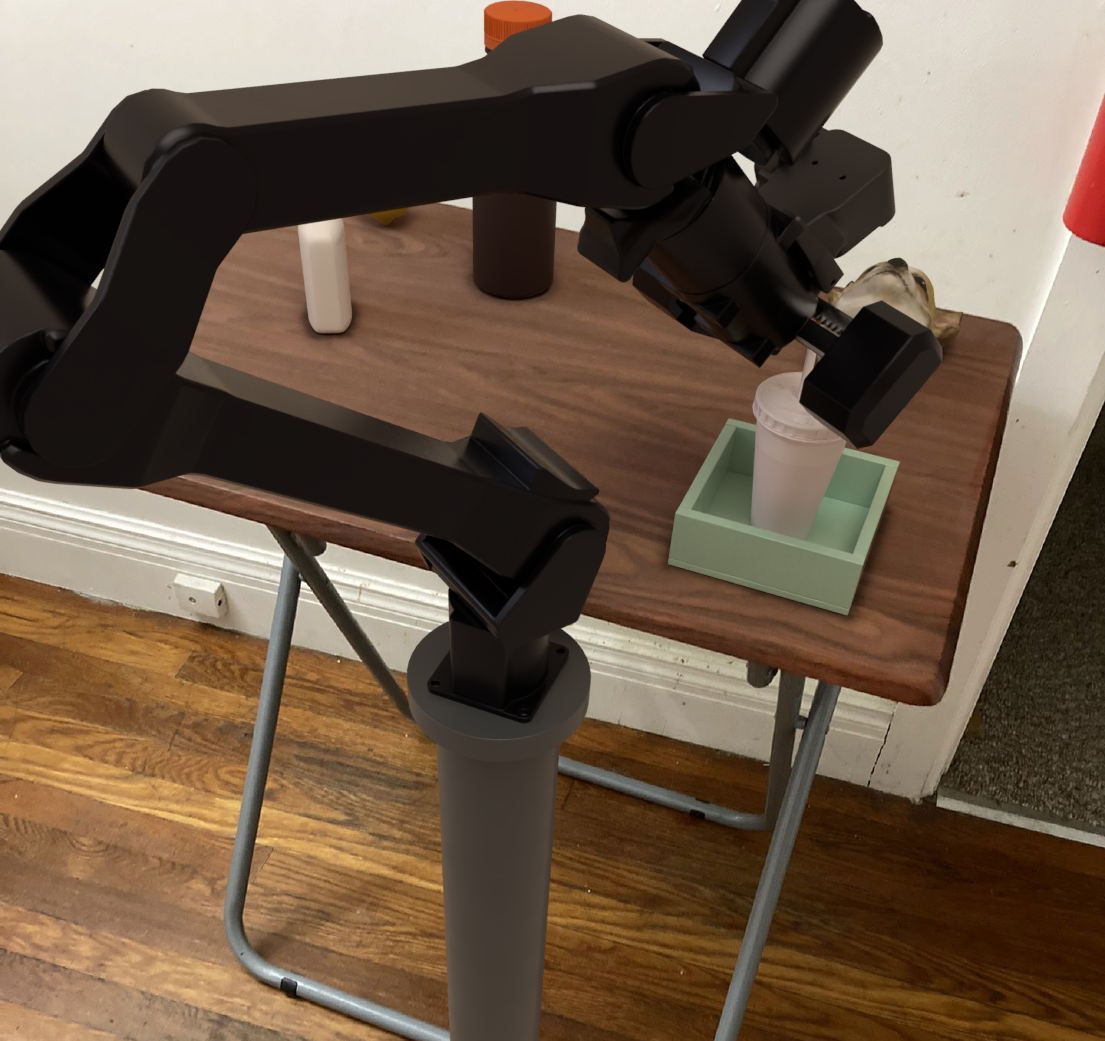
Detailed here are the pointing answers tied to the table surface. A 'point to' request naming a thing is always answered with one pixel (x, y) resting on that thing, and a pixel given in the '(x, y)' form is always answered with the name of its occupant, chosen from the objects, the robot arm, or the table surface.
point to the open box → (771, 558)
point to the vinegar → (513, 196)
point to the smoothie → (790, 456)
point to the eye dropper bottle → (326, 275)
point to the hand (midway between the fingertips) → (831, 382)
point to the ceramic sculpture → (897, 297)
